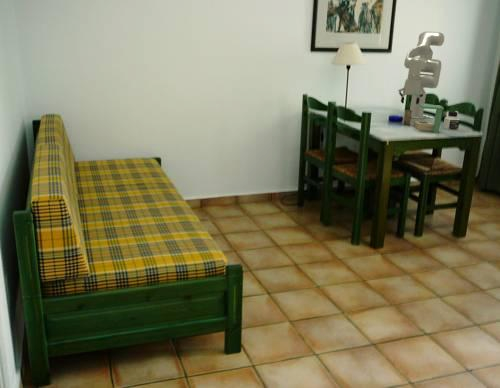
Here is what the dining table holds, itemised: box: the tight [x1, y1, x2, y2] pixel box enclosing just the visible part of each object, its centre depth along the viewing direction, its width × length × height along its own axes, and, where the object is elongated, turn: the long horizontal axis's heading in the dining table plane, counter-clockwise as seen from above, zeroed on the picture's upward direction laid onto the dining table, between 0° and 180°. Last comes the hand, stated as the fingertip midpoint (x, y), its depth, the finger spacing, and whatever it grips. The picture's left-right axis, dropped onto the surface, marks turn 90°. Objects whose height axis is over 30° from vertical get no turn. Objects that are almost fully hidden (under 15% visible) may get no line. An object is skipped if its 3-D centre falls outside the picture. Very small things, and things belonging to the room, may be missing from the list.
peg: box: [403, 109, 412, 126], centre depth 355 cm, size 4×4×10 cm
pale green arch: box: [419, 104, 445, 134], centre depth 337 cm, size 10×13×16 cm
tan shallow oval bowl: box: [412, 120, 434, 132], centre depth 347 cm, size 14×10×4 cm
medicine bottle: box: [442, 110, 461, 131], centre depth 349 cm, size 7×7×12 cm
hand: (409, 103), depth 351 cm, fingers open, 9 cm apart
